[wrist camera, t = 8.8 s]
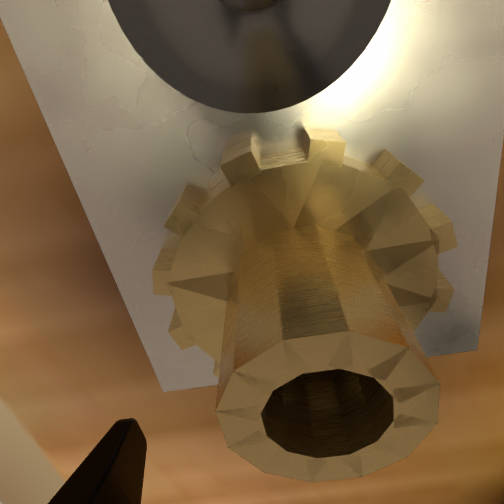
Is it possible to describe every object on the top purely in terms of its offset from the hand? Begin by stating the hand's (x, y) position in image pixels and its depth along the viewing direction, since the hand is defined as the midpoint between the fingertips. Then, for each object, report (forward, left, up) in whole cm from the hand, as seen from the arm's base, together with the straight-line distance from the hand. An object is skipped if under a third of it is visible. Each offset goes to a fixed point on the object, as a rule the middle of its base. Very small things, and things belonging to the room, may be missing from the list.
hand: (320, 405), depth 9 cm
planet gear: (0, 0, -6) cm, 6 cm away
